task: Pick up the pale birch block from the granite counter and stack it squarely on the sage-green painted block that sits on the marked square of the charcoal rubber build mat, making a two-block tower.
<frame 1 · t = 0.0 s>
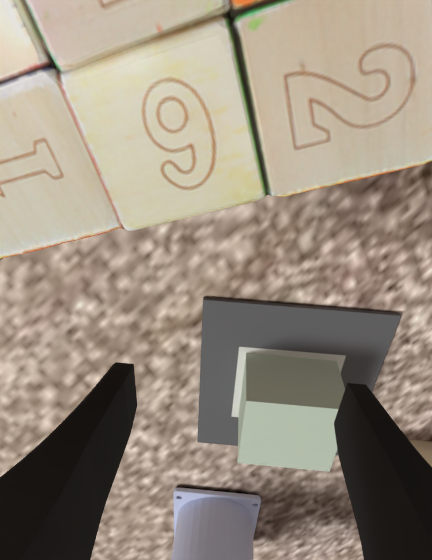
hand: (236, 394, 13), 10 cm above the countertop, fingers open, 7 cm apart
sage block: (284, 388, 26), resting on build mat
birch block: (395, 455, 30), on the countertop
build mat: (284, 385, 26), on the countertop
stack of blocks: (86, 92, 18), on the countertop
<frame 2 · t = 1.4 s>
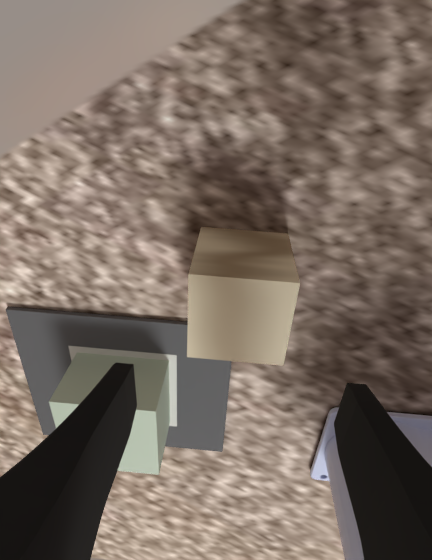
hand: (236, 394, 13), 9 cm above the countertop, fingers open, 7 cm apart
sage block: (126, 388, 25), resting on build mat
birch block: (240, 267, 20), on the countertop
build mat: (127, 385, 26), on the countertop
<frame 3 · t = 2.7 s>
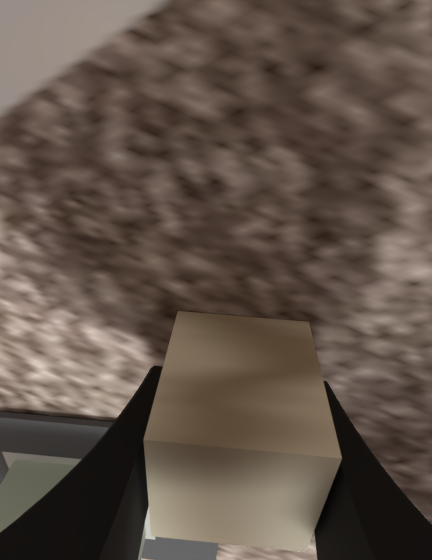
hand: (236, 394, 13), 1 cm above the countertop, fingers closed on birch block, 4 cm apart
sage block: (85, 499, 19), resting on build mat
birch block: (237, 364, 14), on the countertop, touching gripper
build mat: (87, 493, 19), on the countertop
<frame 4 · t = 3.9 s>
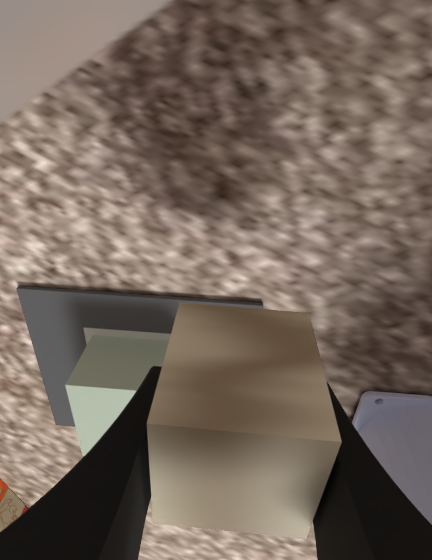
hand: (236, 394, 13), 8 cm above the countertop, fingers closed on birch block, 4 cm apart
sage block: (144, 374, 24), resting on build mat
birch block: (238, 356, 14), point 7 cm above the countertop, touching gripper
build mat: (145, 370, 24), on the countertop
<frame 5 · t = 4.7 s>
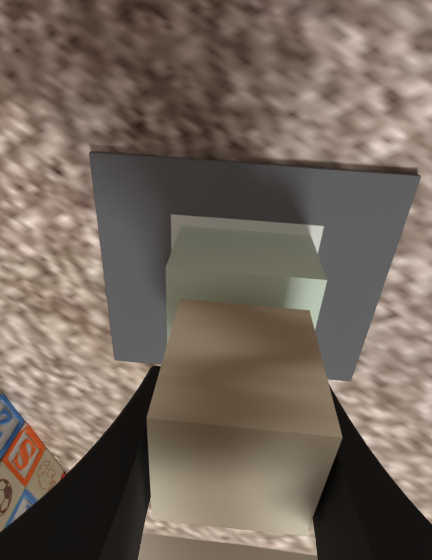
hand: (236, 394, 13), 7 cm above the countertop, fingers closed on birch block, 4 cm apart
sage block: (240, 285, 19), resting on build mat
birch block: (238, 353, 14), point 6 cm above the countertop, touching gripper
build mat: (240, 281, 19), on the countertop
when the fingers open (7 cm above the countertop, at t = 5.3 s): birch block stays where it is, resting on sage block.
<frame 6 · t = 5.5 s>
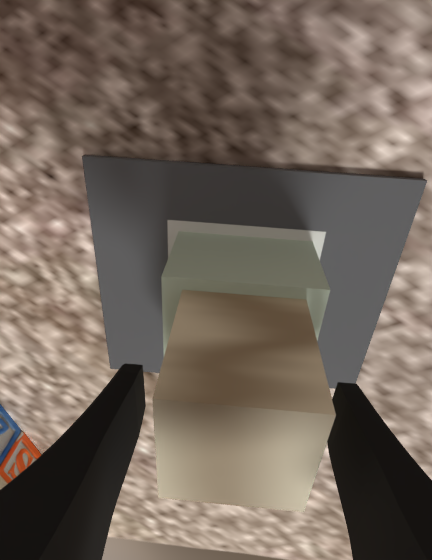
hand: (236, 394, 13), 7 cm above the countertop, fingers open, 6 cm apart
sage block: (239, 292, 18), resting on build mat, touching birch block
birch block: (238, 342, 14), point 4 cm above the countertop, touching sage block
build mat: (239, 288, 18), on the countertop
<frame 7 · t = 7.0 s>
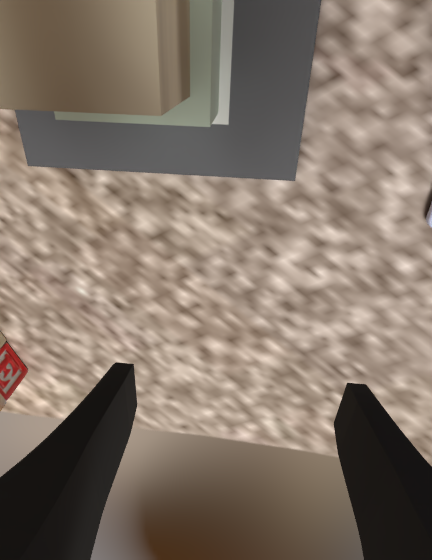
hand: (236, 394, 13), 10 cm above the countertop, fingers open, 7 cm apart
sage block: (151, 33, 16), resting on build mat, touching birch block
birch block: (123, 18, 12), point 4 cm above the countertop, touching sage block
build mat: (153, 34, 16), on the countertop
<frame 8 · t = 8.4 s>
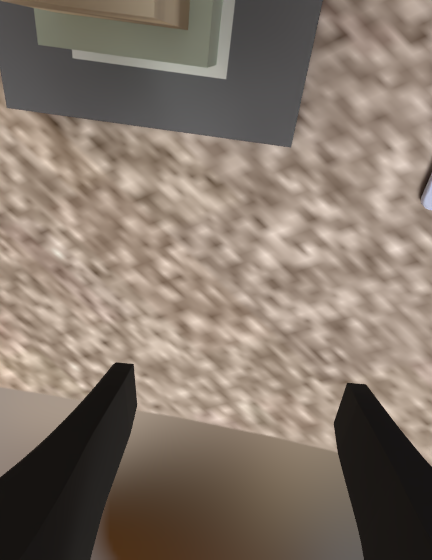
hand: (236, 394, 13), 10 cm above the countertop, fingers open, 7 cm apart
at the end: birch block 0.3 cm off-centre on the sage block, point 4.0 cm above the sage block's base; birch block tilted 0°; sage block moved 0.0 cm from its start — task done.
